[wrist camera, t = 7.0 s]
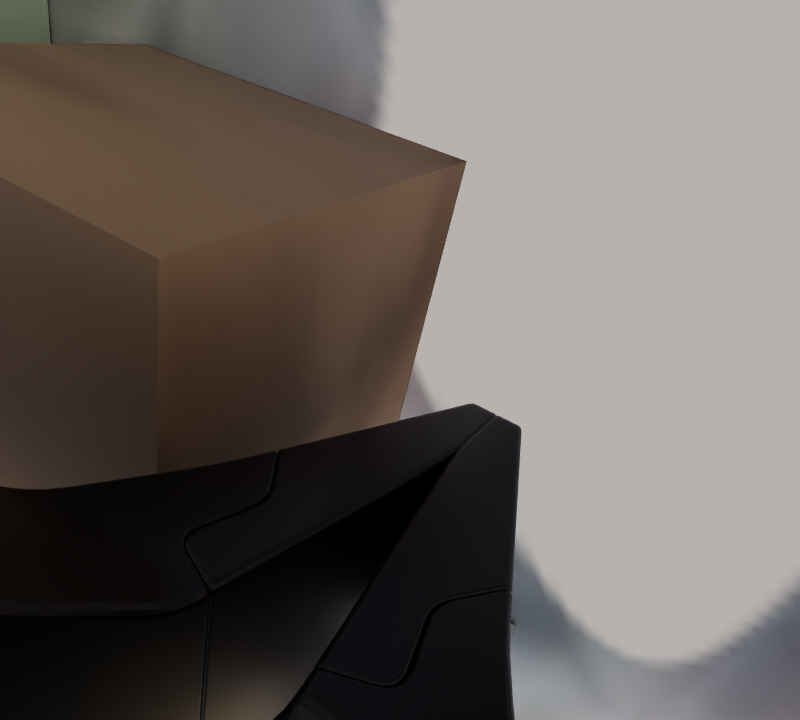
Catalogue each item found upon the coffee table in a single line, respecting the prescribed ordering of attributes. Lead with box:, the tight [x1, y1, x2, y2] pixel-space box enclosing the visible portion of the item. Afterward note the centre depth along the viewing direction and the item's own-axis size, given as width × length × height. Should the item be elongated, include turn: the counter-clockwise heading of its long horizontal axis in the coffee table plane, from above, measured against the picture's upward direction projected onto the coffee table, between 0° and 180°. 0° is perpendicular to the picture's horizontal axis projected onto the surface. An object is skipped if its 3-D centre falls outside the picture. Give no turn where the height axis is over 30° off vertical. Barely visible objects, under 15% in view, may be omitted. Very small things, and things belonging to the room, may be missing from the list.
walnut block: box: [0, 43, 466, 489], centre depth 10 cm, size 6×7×6 cm
